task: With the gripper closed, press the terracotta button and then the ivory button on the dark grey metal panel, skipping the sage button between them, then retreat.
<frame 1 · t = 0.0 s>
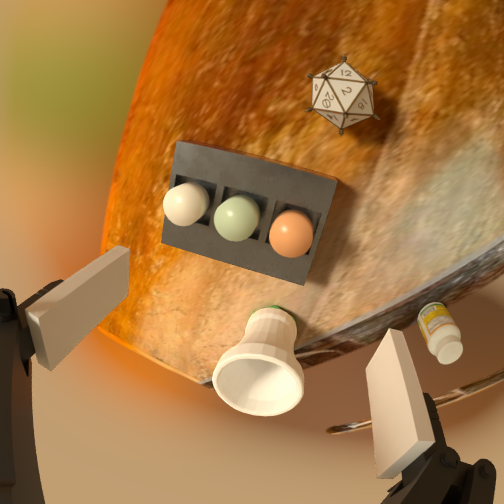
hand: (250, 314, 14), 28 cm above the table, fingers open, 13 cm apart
sage button: (237, 217, 36), point 6 cm above the table, slide at 0.0 cm
cup: (273, 323, 48), on the table
supplement bottle: (431, 315, 42), on the table
panel: (247, 206, 41), on the table
ivory button: (186, 203, 37), point 6 cm above the table, slide at 0.0 cm
terracotta button: (291, 232, 35), point 6 cm above the table, slide at 0.0 cm
game die: (339, 99, 34), on the table
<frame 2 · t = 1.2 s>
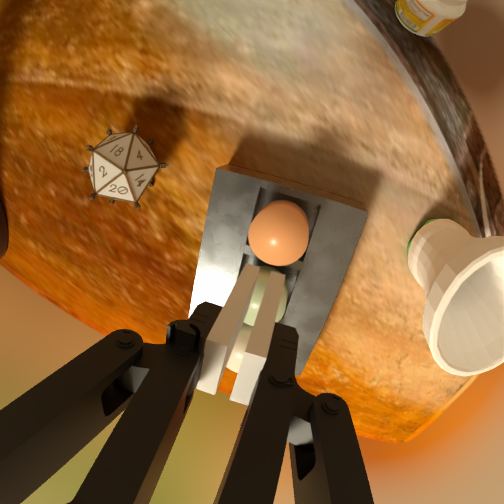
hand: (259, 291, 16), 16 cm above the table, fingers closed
sage button: (261, 296, 29), point 6 cm above the table, slide at 0.0 cm
cup: (435, 248, 30), on the table
supplement bottle: (417, 16, 21), on the table
panel: (269, 270, 34), on the table
ivory button: (245, 347, 31), point 6 cm above the table, slide at 0.0 cm
terracotta button: (280, 231, 26), point 6 cm above the table, slide at 0.0 cm
game die: (142, 162, 32), on the table
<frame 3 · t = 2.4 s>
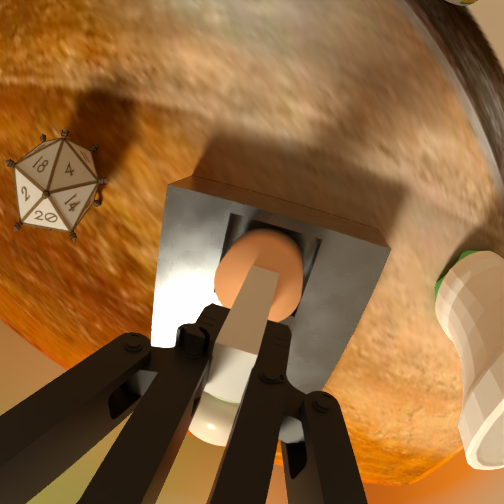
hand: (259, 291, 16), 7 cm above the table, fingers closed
sage button: (235, 362, 20), point 6 cm above the table, slide at 0.0 cm
cup: (468, 287, 21), on the table
panel: (251, 316, 25), on the table
ivory button: (219, 415, 22), point 6 cm above the table, slide at 0.0 cm
terracotta button: (261, 275, 18), point 5 cm above the table, slide at 0.8 cm, touching gripper
game die: (87, 175, 24), on the table
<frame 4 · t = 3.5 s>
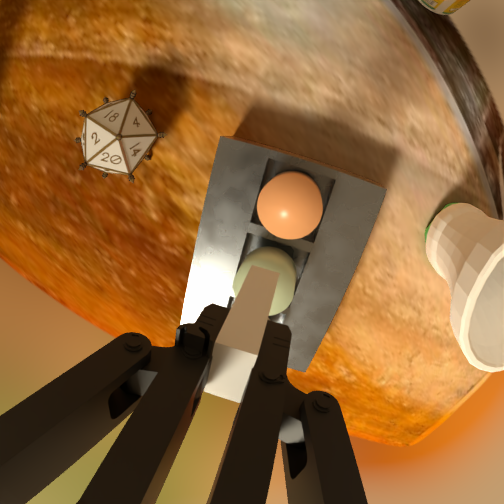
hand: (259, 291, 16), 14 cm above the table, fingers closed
sage button: (266, 280, 25), point 6 cm above the table, slide at 0.0 cm
cup: (453, 236, 26), on the table
panel: (275, 254, 31), on the table
terracotta button: (291, 203, 24), point 5 cm above the table, slide at 1.0 cm
game die: (139, 135, 29), on the table
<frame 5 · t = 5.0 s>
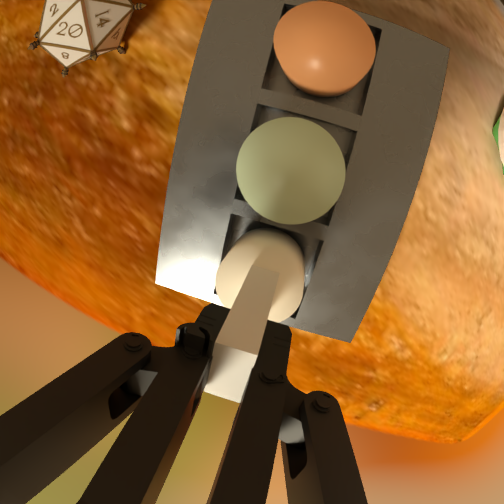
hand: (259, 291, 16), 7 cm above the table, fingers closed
sage button: (292, 167, 14), point 6 cm above the table, slide at 0.0 cm
panel: (297, 159, 20), on the table
ivory button: (262, 275, 18), point 5 cm above the table, slide at 1.0 cm, touching gripper
terracotta button: (323, 50, 13), point 5 cm above the table, slide at 1.0 cm
game die: (114, 30, 18), on the table
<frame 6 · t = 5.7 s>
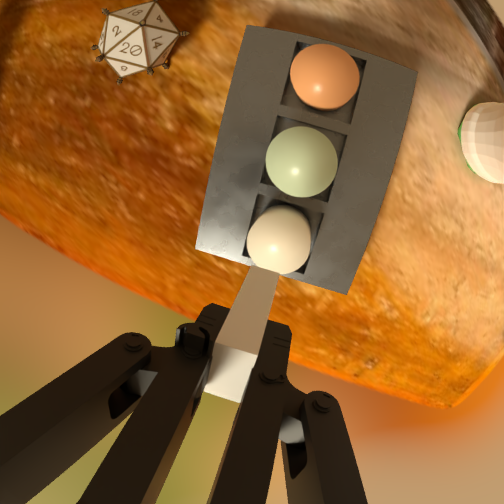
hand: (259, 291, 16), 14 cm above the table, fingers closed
sage button: (302, 160, 21), point 6 cm above the table, slide at 0.0 cm
cup: (485, 141, 22), on the table
panel: (304, 155, 27), on the table
ivory button: (280, 238, 25), point 5 cm above the table, slide at 1.0 cm
terracotta button: (324, 78, 20), point 5 cm above the table, slide at 1.0 cm
game die: (157, 48, 25), on the table
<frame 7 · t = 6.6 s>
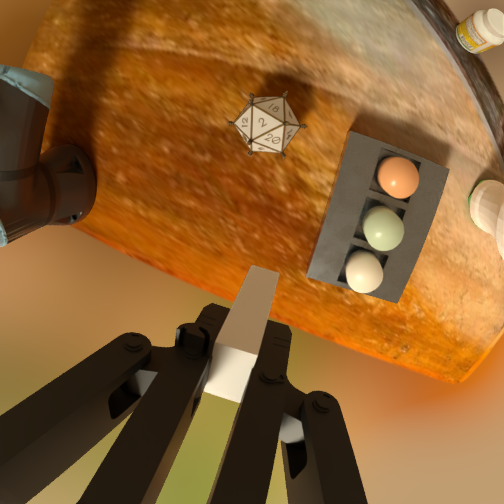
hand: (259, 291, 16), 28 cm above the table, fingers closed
sage button: (382, 227, 35), point 6 cm above the table, slide at 0.0 cm
cup: (485, 203, 36), on the table
supplement bottle: (469, 38, 27), on the table
panel: (374, 216, 41), on the table
ivory button: (363, 271, 39), point 5 cm above the table, slide at 1.0 cm
terracotta button: (397, 176, 34), point 5 cm above the table, slide at 1.0 cm
game die: (272, 125, 39), on the table
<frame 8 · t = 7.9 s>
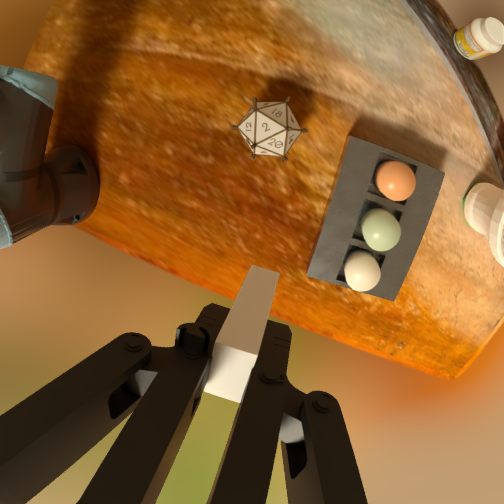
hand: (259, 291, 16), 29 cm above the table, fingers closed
sage button: (380, 229, 37), point 6 cm above the table, slide at 0.0 cm
cup: (479, 204, 38), on the table
supplement bottle: (466, 45, 29), on the table
panel: (372, 217, 42), on the table
ivory button: (361, 270, 40), point 5 cm above the table, slide at 1.0 cm
terracotta button: (394, 180, 35), point 5 cm above the table, slide at 1.0 cm
game die: (273, 129, 41), on the table
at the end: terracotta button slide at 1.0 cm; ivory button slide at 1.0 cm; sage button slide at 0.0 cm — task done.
